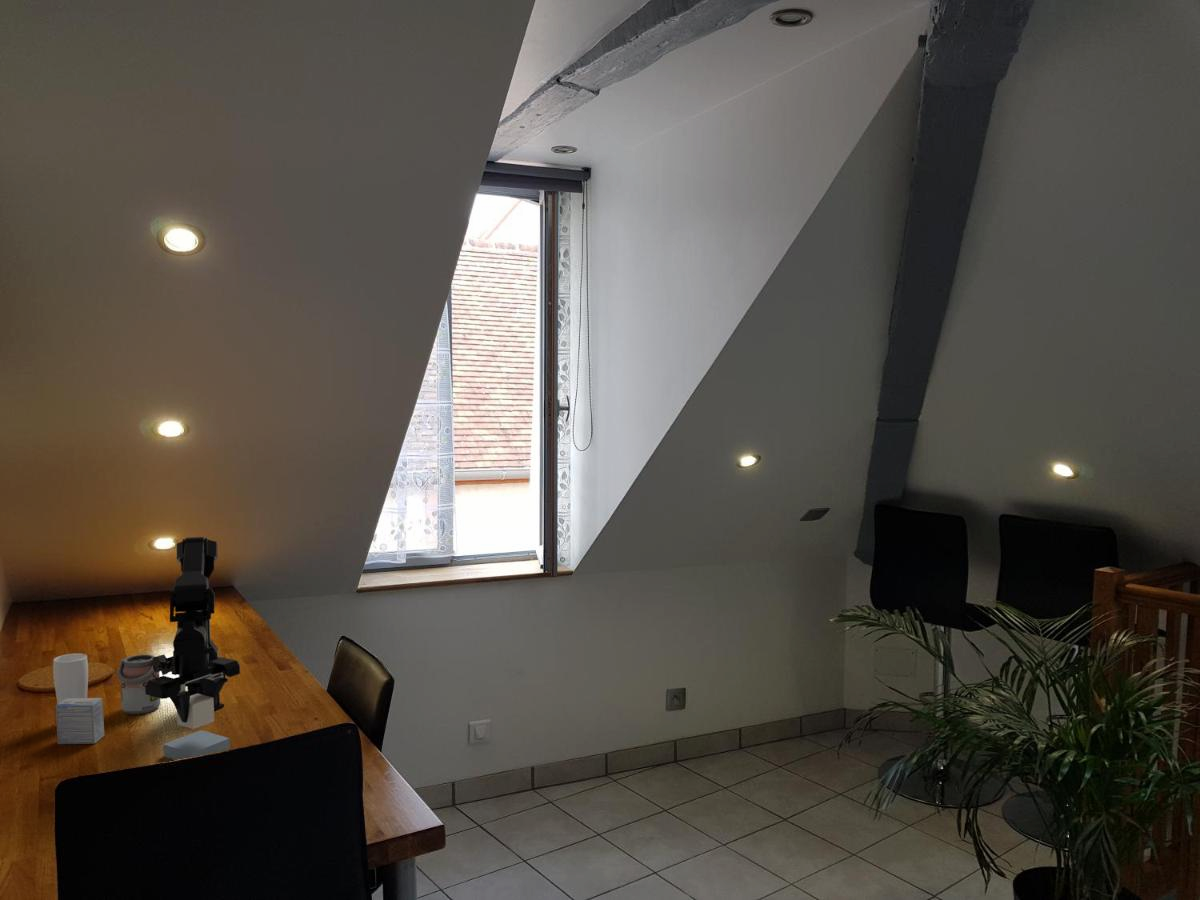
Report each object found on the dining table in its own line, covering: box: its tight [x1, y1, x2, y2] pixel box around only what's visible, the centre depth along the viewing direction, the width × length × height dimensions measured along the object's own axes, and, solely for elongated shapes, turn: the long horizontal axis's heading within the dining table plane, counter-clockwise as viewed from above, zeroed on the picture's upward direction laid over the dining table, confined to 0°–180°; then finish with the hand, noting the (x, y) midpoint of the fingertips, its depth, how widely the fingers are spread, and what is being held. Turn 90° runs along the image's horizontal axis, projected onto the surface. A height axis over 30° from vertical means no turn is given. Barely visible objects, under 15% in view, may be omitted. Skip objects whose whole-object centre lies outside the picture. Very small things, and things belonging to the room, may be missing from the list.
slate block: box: [162, 729, 231, 761], centre depth 202 cm, size 9×9×3 cm
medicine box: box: [55, 697, 105, 745], centre depth 208 cm, size 8×4×9 cm, turn 92°
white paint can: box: [116, 653, 161, 715], centre depth 227 cm, size 9×8×12 cm
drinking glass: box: [52, 653, 89, 705], centre depth 218 cm, size 7×7×15 cm
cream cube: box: [176, 693, 215, 730], centre depth 201 cm, size 5×5×5 cm
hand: (195, 718), depth 201 cm, fingers closed on cream cube, 5 cm apart
